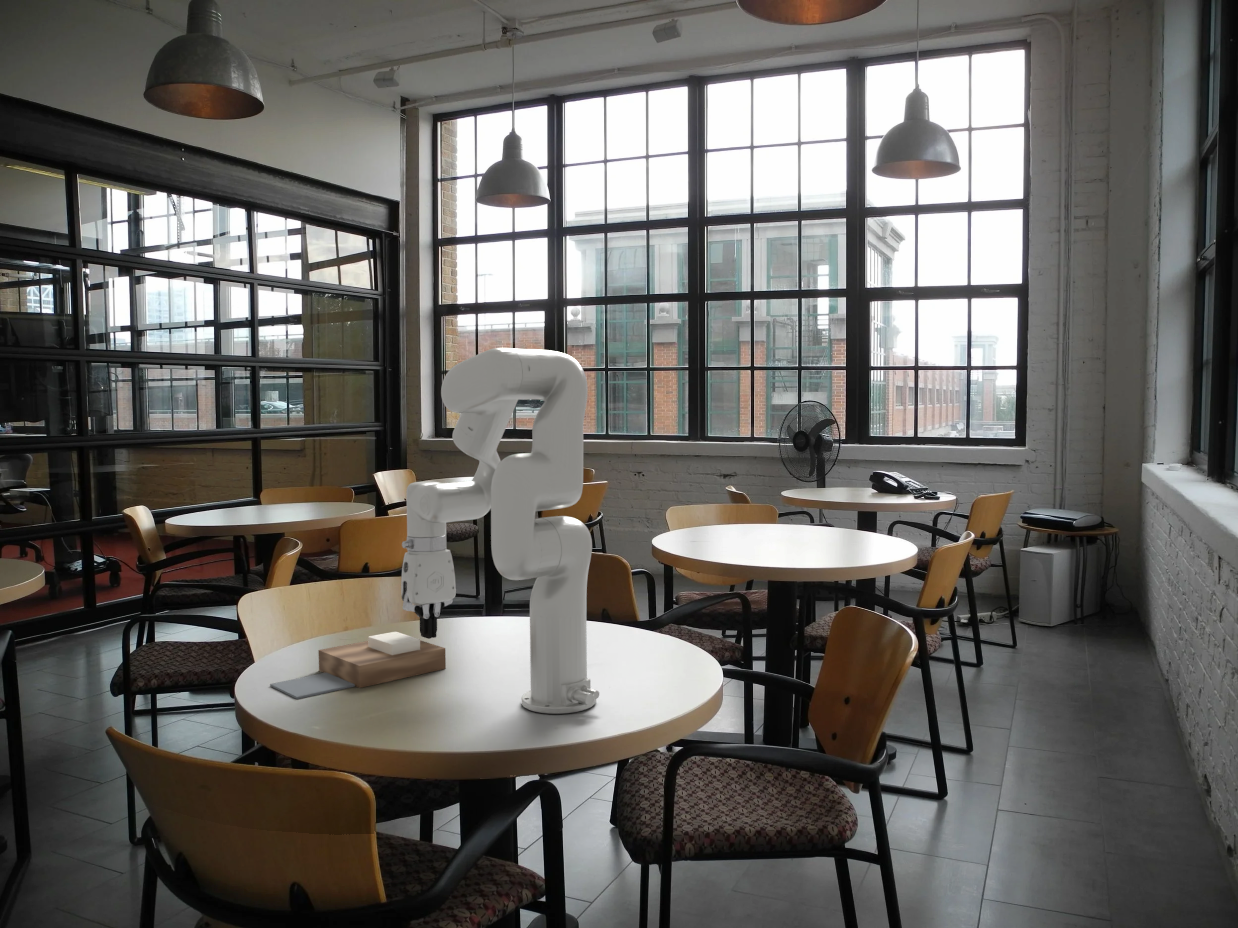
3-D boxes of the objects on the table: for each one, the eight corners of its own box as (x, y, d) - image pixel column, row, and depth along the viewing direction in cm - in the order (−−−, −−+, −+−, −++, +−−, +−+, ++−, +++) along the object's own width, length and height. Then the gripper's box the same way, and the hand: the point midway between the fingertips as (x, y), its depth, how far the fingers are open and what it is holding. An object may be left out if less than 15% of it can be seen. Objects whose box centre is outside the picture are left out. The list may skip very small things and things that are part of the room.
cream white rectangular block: (420, 649, 179) (419, 639, 179) (392, 655, 175) (391, 644, 175) (395, 641, 186) (395, 631, 186) (368, 646, 182) (368, 636, 182)
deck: (445, 668, 181) (445, 648, 180) (359, 687, 168) (359, 665, 168) (402, 653, 192) (401, 634, 192) (318, 670, 180) (318, 649, 180)
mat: (354, 686, 169) (354, 684, 169) (297, 699, 162) (296, 696, 162) (326, 674, 177) (326, 672, 177) (270, 685, 170) (270, 683, 170)
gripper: (403, 550, 177) (405, 646, 178) (469, 542, 187) (471, 633, 188) (383, 546, 183) (385, 640, 184) (448, 539, 193) (450, 627, 194)
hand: (428, 636), depth 186 cm, fingers closed
